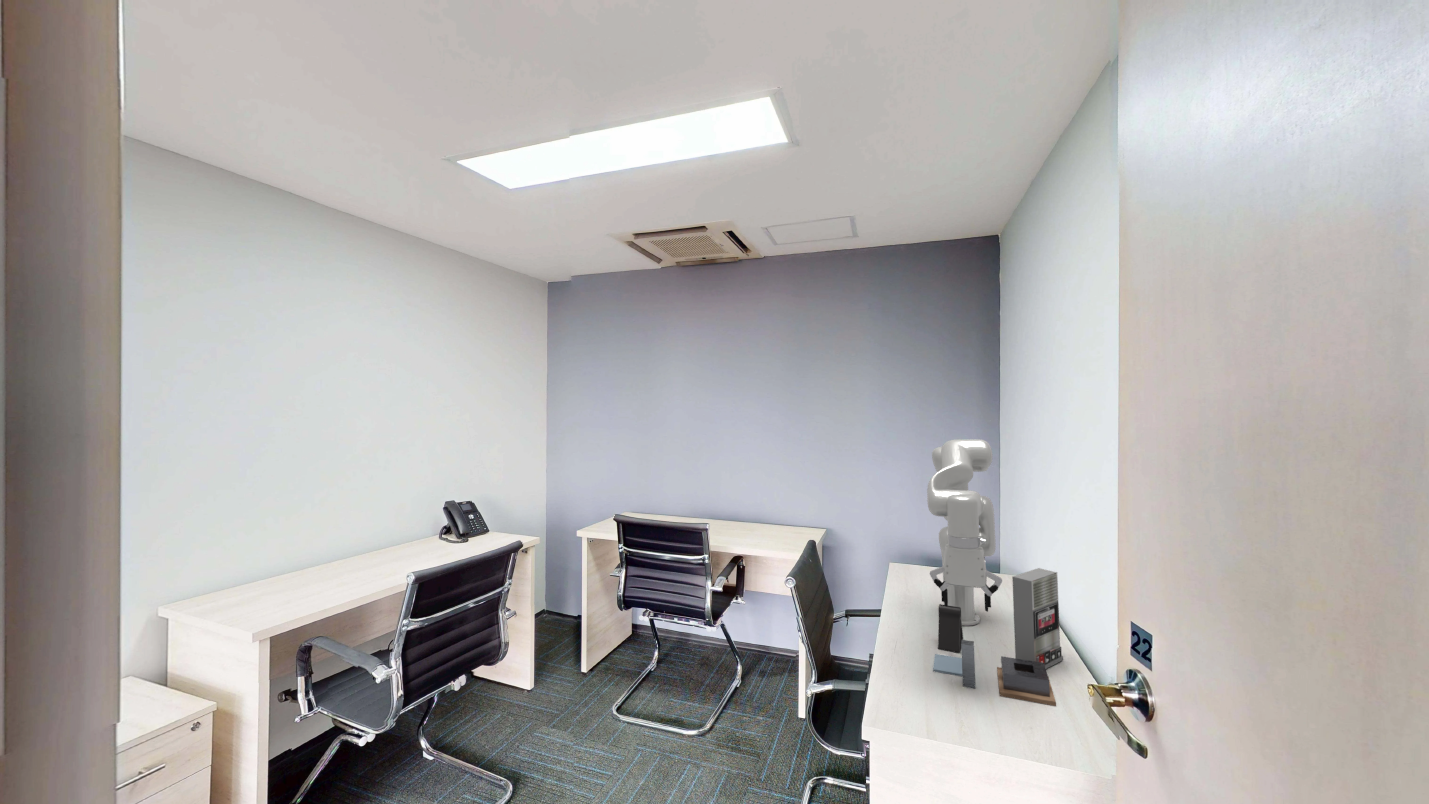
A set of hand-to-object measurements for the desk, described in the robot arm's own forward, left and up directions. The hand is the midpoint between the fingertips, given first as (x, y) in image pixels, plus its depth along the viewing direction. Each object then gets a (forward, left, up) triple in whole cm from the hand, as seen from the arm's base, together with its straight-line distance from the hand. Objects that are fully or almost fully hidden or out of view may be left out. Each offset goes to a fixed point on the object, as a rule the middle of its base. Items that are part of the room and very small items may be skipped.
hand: (966, 607), depth 139 cm
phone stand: (-23, -5, -21) cm, 31 cm away
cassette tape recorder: (-20, +18, -21) cm, 34 cm away
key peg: (0, 0, -20) cm, 20 cm away
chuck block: (-4, +13, -20) cm, 24 cm away
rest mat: (-9, -4, -20) cm, 23 cm away
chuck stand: (-4, +13, -20) cm, 24 cm away
